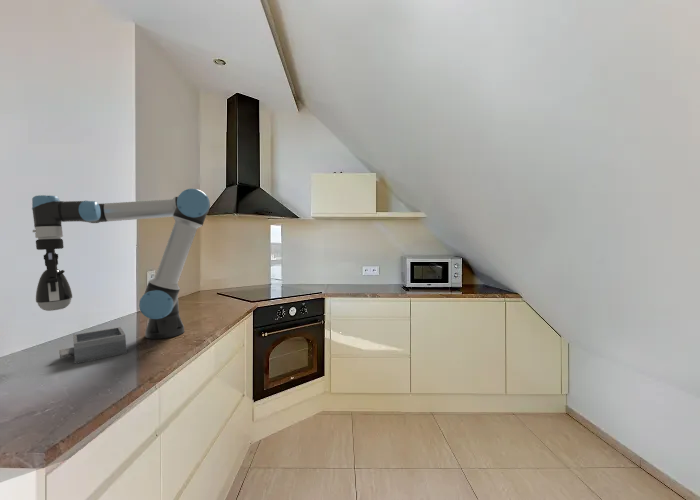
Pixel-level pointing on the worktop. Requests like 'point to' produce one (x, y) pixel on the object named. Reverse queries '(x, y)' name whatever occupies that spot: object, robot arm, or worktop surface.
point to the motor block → (96, 345)
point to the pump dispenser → (43, 293)
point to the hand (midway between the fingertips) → (55, 298)
